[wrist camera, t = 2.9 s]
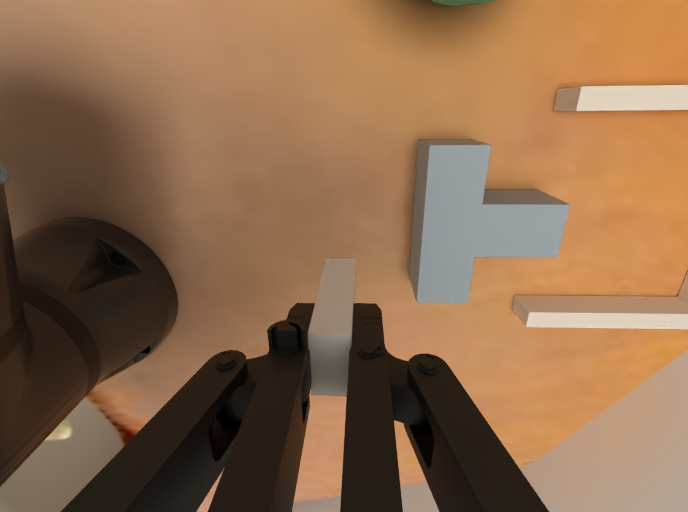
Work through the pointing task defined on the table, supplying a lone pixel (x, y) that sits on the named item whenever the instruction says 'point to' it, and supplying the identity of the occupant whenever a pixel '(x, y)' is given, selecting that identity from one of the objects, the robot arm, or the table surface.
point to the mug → (460, 2)
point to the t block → (472, 219)
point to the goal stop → (611, 309)
